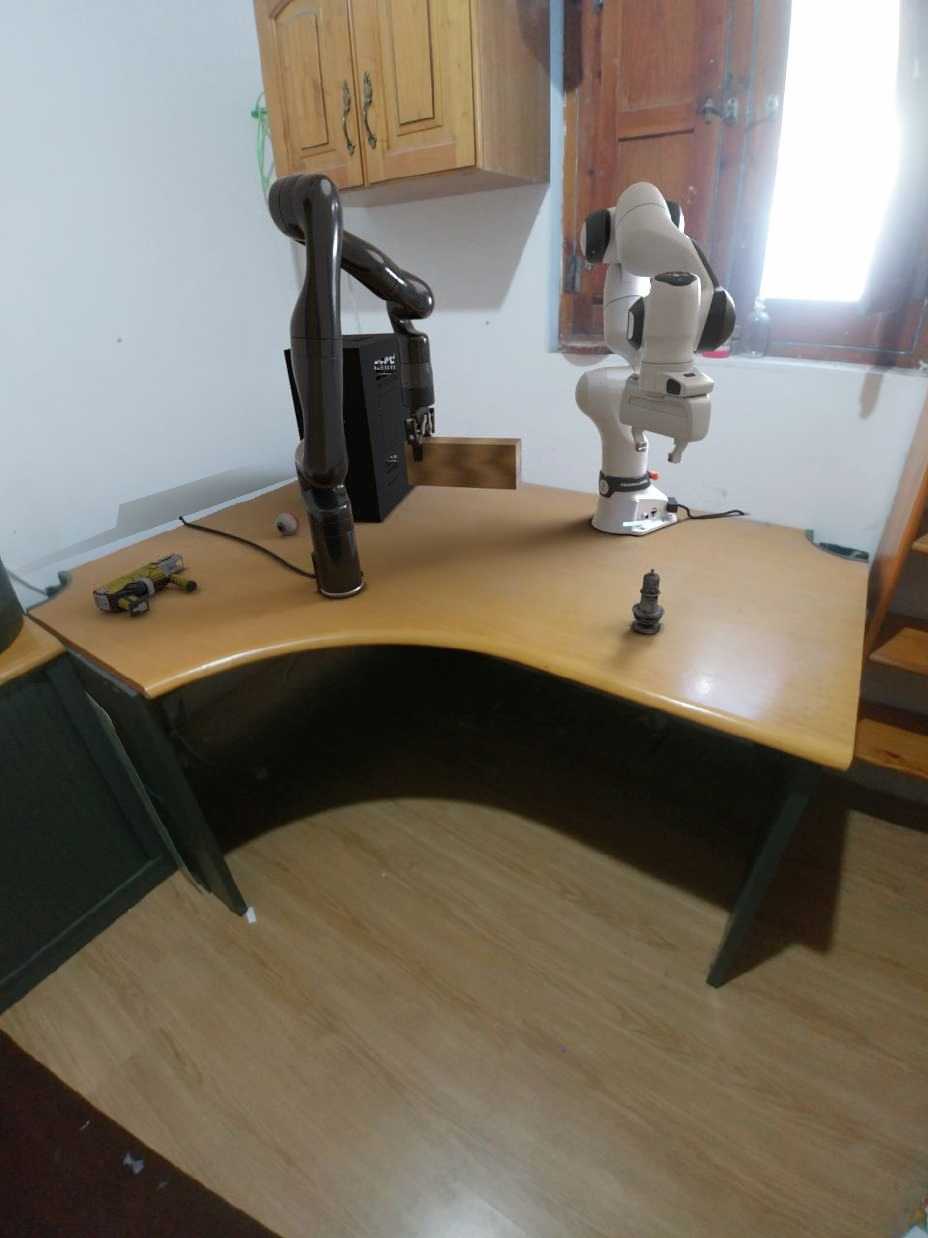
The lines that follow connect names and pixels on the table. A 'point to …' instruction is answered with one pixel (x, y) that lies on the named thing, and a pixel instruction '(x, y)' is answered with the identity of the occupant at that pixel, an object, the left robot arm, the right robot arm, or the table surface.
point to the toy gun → (141, 586)
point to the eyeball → (287, 523)
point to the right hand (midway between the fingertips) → (656, 456)
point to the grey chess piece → (648, 605)
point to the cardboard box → (369, 424)
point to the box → (467, 463)
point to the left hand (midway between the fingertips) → (423, 457)
